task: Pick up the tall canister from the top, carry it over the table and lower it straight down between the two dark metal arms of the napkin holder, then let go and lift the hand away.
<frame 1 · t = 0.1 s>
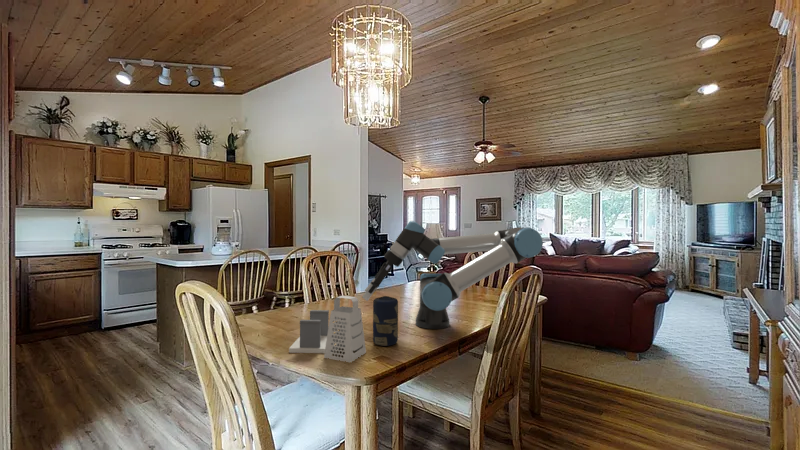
hand: (366, 295, 157), 15 cm above the table, tool tilted 35°, fingers open, 13 cm apart
napkin holder: (314, 344, 141), on the table
canister: (385, 343, 143), on the table
grater: (345, 355, 131), on the table
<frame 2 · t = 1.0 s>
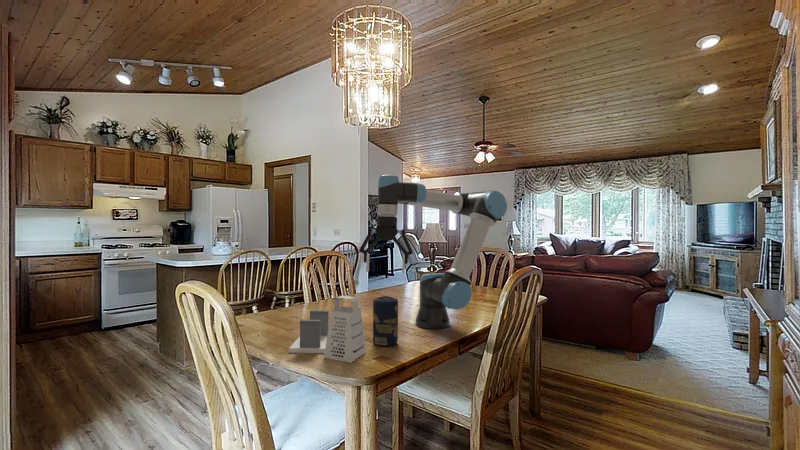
hand: (385, 272, 144), 27 cm above the table, tool pointing down, fingers open, 13 cm apart
nothing on the table moved.
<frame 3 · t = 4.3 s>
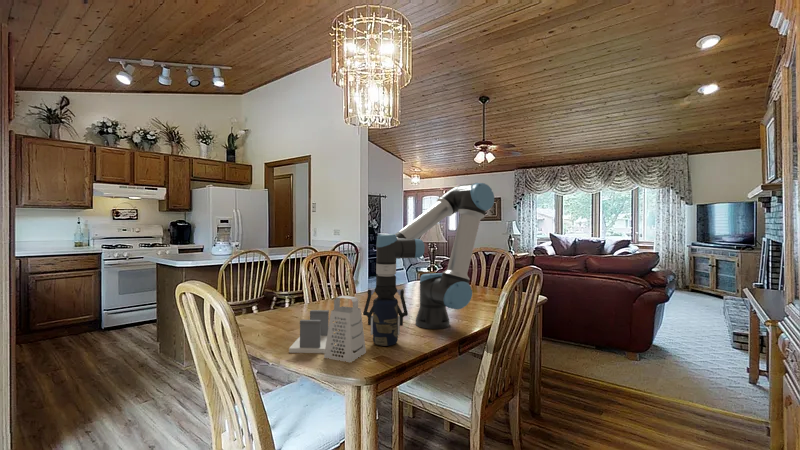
hand: (385, 333, 143), 4 cm above the table, tool pointing down, fingers closed on canister, 9 cm apart
canister: (385, 343, 143), on the table, touching gripper
everything else where it was.
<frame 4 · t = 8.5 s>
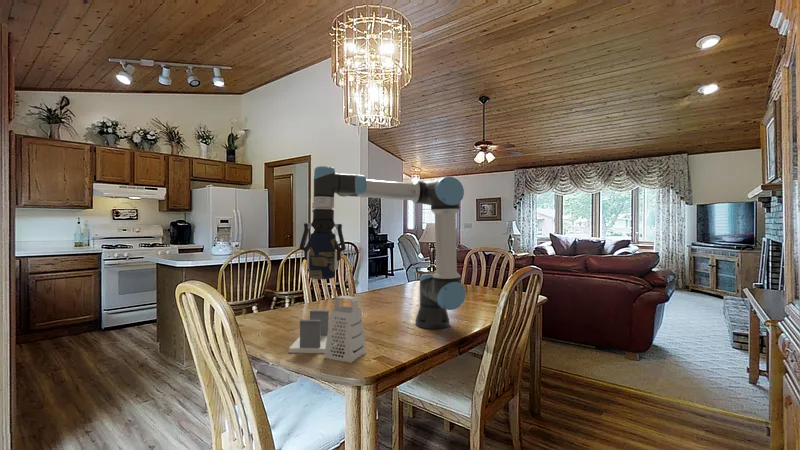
hand: (322, 269, 141), 28 cm above the table, tool pointing down, fingers closed on canister, 9 cm apart
canister: (322, 279, 141), point 24 cm above the table, touching gripper
everything else where it was.
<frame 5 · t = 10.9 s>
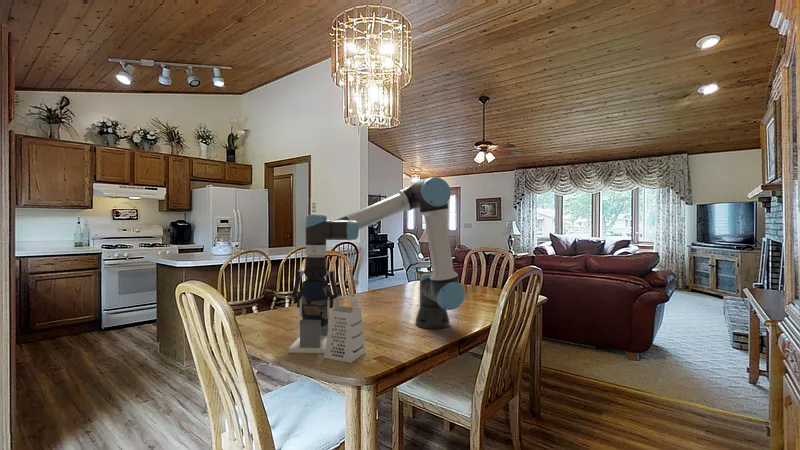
hand: (315, 316, 141), 11 cm above the table, tool pointing down, fingers closed on canister, 9 cm apart
canister: (315, 326, 141), point 7 cm above the table, touching gripper
everything else where it was.
when the fingers open (6 cm above the table, at t = 12.7 s): canister drops 1 cm, resting on napkin holder.
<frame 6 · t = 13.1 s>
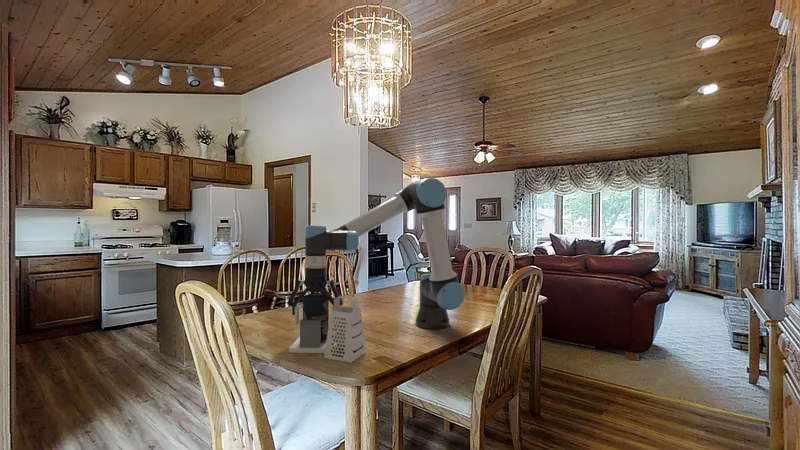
hand: (315, 324, 141), 8 cm above the table, tool pointing down, fingers open, 13 cm apart
canister: (315, 341, 141), point 1 cm above the table, touching napkin holder
everything else where it was.
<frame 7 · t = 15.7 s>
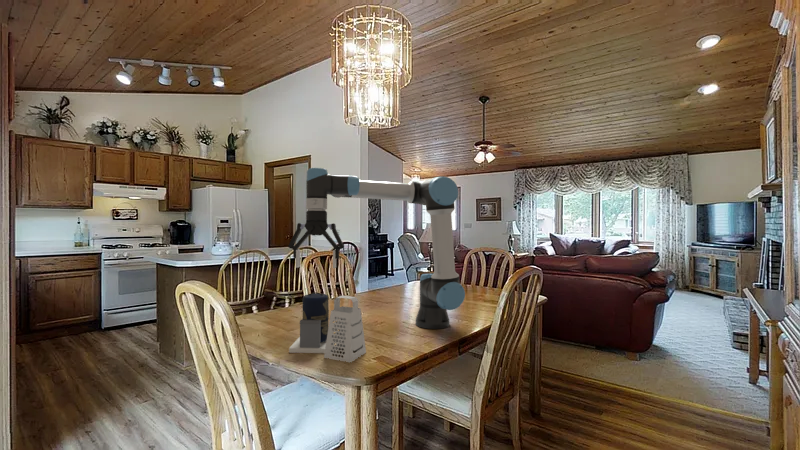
hand: (316, 267, 141), 29 cm above the table, tool pointing down, fingers open, 13 cm apart
nothing on the table moved.
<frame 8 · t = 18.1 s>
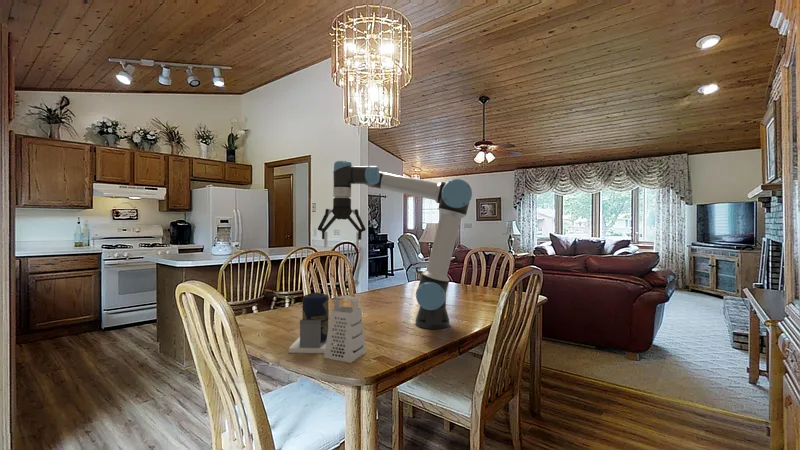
hand: (341, 247, 162), 35 cm above the table, tool pointing down, fingers open, 13 cm apart
nothing on the table moved.
at the end: canister 0.1 cm off-centre on the napkin holder, point 1.3 cm above the napkin holder's base; canister tilted 0°; the gripper is holding nothing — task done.
